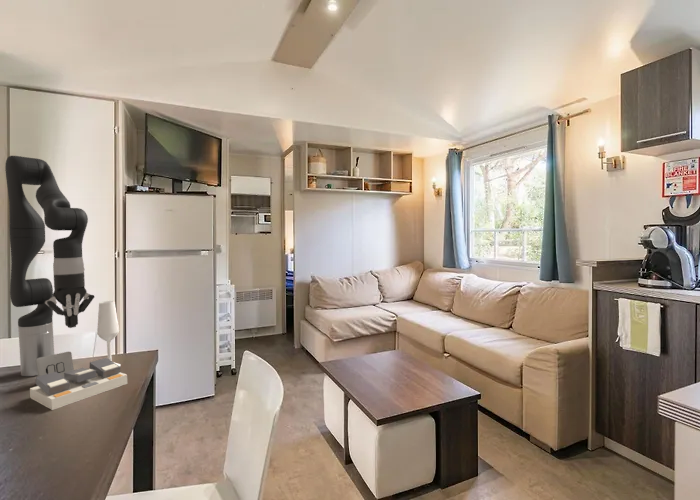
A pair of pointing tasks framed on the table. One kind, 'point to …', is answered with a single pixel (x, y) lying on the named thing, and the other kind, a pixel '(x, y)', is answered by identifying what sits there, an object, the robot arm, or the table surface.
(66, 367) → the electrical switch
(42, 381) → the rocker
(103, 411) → the table surface
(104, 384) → the switch panel
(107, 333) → the champagne flute
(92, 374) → the rocker middle
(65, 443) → the table surface
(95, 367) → the block
